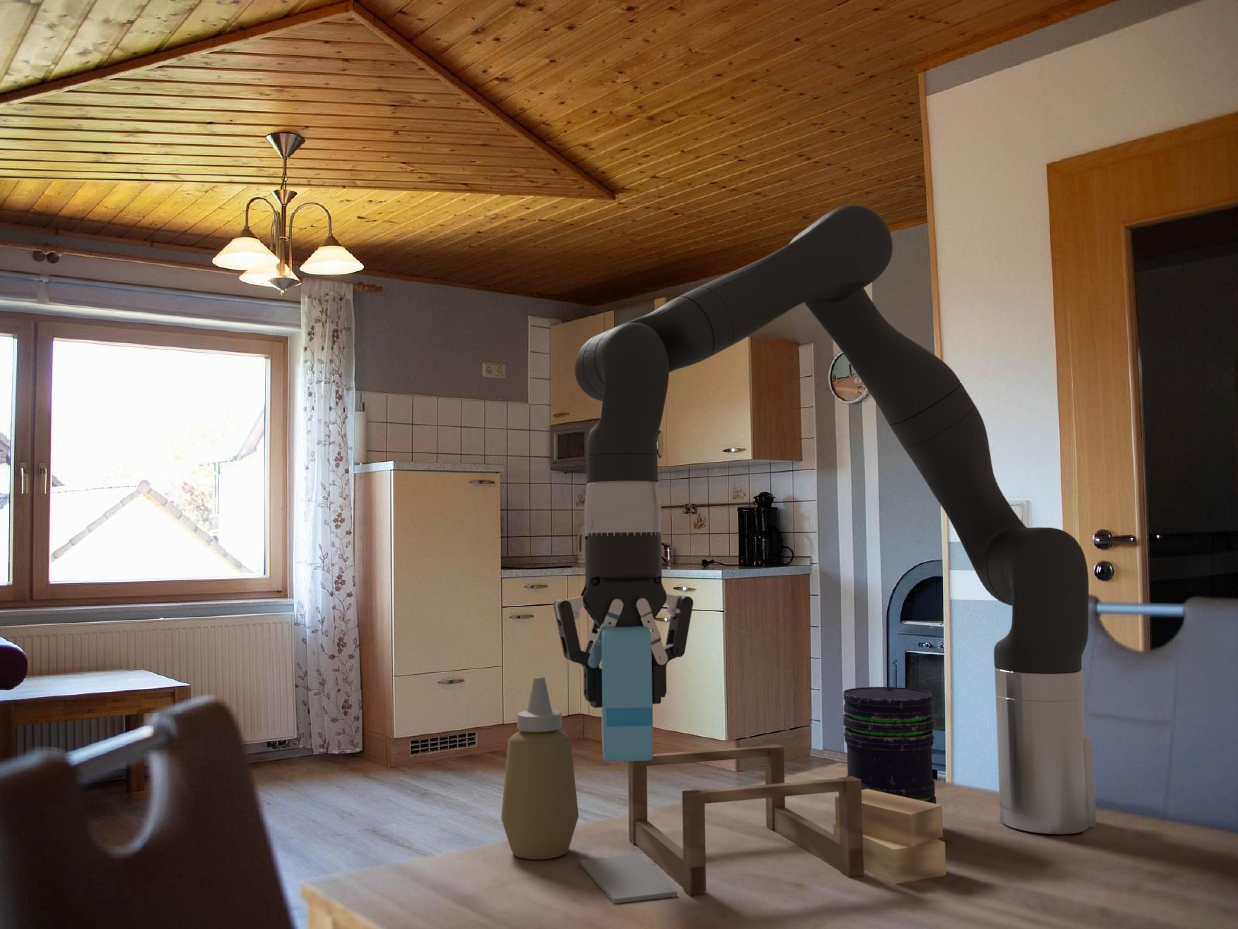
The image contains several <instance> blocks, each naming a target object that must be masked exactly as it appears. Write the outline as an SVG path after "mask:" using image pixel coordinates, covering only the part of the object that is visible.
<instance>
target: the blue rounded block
mask: <svg viewBox="0 0 1238 929" xmlns="http://www.w3.org/2000/svg"><path fill="white" fill-rule="evenodd" d="M600 668H601V669H602V707H601V743H602V744H601V746H602V755H603V756H602V757H603V761H605V762H628V761H650V760H652V758H653V754H654V736H653V733H654V729H653V727H654V726H653V725H654V724H653V704H652V654H651V633H650V630H649V629H648V627H644V626H632V627H615V628H603V629H602V659H601V662H600Z"/></svg>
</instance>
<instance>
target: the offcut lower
mask: <svg viewBox="0 0 1238 929" xmlns="http://www.w3.org/2000/svg"><path fill="white" fill-rule="evenodd" d="M832 829H833V830H832V831H833V832H832V833H833V834H835V835H837V836H838V837H840V828H837V827H836V822H833V823H832ZM946 861H947V860H946V842H945V841H943V840H941V839H939V838H937V839H934V840H931V841H928V842H925V843H922V844H919V845H916V846H913V847H910V846H906V845H902V844H898V843H894V842H891V841H887V840H883V839H879V838H875V837H871V836H868V835H864V834H863V862H864V871H867V872H869V873H871V874H873V875H875V876H877V877H879V878H882V879H883V880H885V881H887V882H889V883H891V884H894V885H895V884H896V885H897V884H901V883H903V884H904V883H909V882H914V881H915V882H916V881H920V880H922V881H923V880H926V879H933V878H939V877H944V876H947V864H946Z"/></svg>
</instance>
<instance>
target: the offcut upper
mask: <svg viewBox="0 0 1238 929" xmlns="http://www.w3.org/2000/svg"><path fill="white" fill-rule="evenodd" d="M861 791H862V826H863V834H864V835H868V836H871V837H875V838H879V839H883V840H887V841H891V842H894V843H898V844H902V845H906V846H910V847H913V846H916V845H919V844H922V843H925V842H928V841H931V840H934V839H941V838H943V837H944V826H943V825H944V824H943V821H944V820H943V805H942V804H938V803H936V804H934V803H929V802H925V801H920V800H916V799H911V798H906V797H902V796H897V795H893V794H888V793H884V792H879V791H874V790H870V789H864V790H861ZM834 803H835V804H834V810H835V811H834V814H835V823H836V827H837V828H840V826H839V795H837V796H835V797H834Z"/></svg>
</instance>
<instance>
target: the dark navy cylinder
mask: <svg viewBox="0 0 1238 929" xmlns="http://www.w3.org/2000/svg"><path fill="white" fill-rule="evenodd" d="M842 696H843V700H844V704H843V713H844V714H843V715H842V720H843V722H842V723H843V726H844V733H843V736H844V742H845V743H846V758H847V759H846V760H847V762H846V763H847V766H846V767H847V776H846V777H851V776H853V777H856V778H858V779H860V780H861V790H864V789H870V790H874V791H879V792H884V793H888V794H893V795H897V796H902V797H906V798H911V799H916V800H920V801H925V802H929V803H934V804H937V797H936V786H935V785H936V783H935V780H934V778H933V762H932V760H933V758H932V747H933V745H934V739H935V736H934V731H933V729H934V727H935V726H934V723H935V722H934V717H933V707H932V704H931V703H932V702H933V694H932V692H930V691H927V690H923V689H917V688H909V687H897V686H895V687H894V686H867V687H866V686H865V687H863V686H862V687H855V688H854V687H853V688H848V689H845V690H844V691H843V695H842Z"/></svg>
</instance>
